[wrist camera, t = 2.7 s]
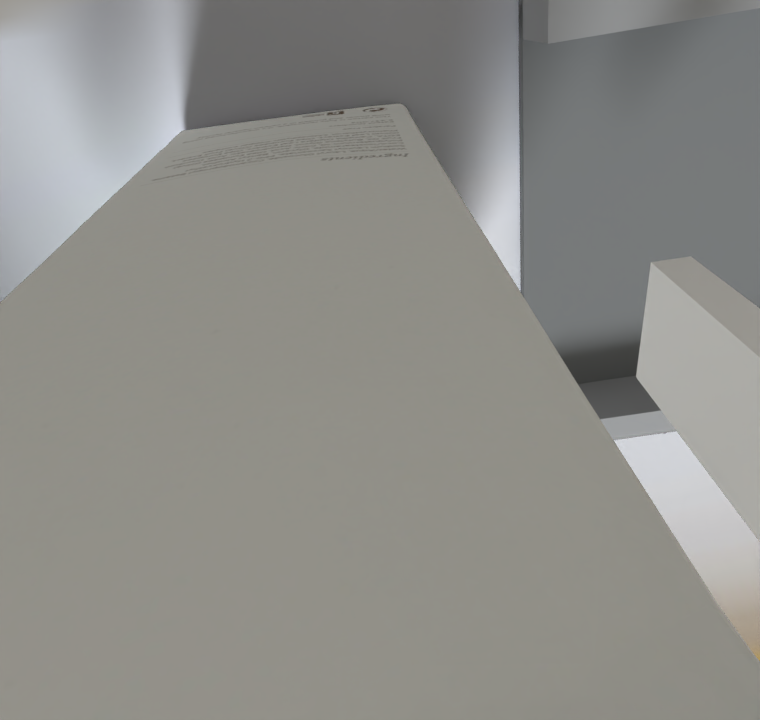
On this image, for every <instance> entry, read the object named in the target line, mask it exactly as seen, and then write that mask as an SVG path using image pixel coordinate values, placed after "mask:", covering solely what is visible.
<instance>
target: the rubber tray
mask: <svg viewBox="0 0 760 720" xmlns="http://www.w3.org/2000/svg"><path fill="white" fill-rule="evenodd" d="M519 114H520V247H521V294H522V296H523V297H524V299H525V300H526V302H527V304H528V305H529V307H530V308H531V310H532V312H533V313H534V315H535V316H536V318H537V320H538V321H539V323H540V324H541V326H542V328H543V329H544V331H545V332H546V334H547V336H548V337H549V339H550V340H551V342H552V344H553V345H554V347H555V348H556V350H557V352H558V353H559V355H560V356H561V358H562V360H563V361H564V363H565V364H566V366H567V368H568V369H569V371H570V372H571V374H572V376H573V377H574V379H575V381H576V382H577V384H578V385H579V387H580V389H581V390H582V392H583V393H584V395H585V397H586V398H587V400H588V401H589V403H590V404H591V406H592V408H593V409H594V411H595V412H596V414H597V415H598V417H599V419H600V420H601V422H602V423H603V425H604V426H605V428H606V430H607V431H608V433H609V434H610V436H611V437H612V439H613V440H618V439H625V438H632V437H639V436H646V435H653V434H660V433H667V432H674V431H676V430H675V428H674V427H673V426H672V424H671V423H670V422H669V420H668V419H667V418H666V416H665V415H664V414H663V412H662V411H661V410H660V408H659V407H658V406H657V404H656V403H655V402H654V400H653V399H652V398H651V396H650V395H649V394H648V392H647V391H646V390H645V388H644V387H643V386H642V384H641V383H640V382H639V380H638V379H637V378H636V372H637V365H638V357H639V349H640V342H641V334H642V327H643V319H644V311H645V304H646V296H647V288H648V281H649V273H650V265H651V262H656V261H663V260H669V259H676V258H683V257H690V256H691V257H692V258H694V259H695V260H696V261H698V262H699V263H700V264H702V265H703V266H704V267H706V268H707V269H708V270H709V271H711V272H712V273H713V274H715V275H716V276H717V277H719V278H720V279H721V280H723V281H724V282H725V283H727V284H728V285H729V286H731V287H732V288H733V289H735V290H736V291H737V292H739V293H740V294H741V295H743V296H744V297H745V298H747V299H748V300H749V301H751V302H752V303H753V304H755V305H756V306H757V307H759V308H760V0H519Z"/></svg>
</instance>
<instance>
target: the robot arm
mask: <svg viewBox="0 0 760 720" xmlns="http://www.w3.org/2000/svg"><path fill="white" fill-rule="evenodd" d="M636 378H637V379H638V380H639V382H640V383H641V384H642V386H643V387H644V388H645V390H646V391H647V392H648V394H649V395H650V396H651V398H652V399H653V400H654V402H655V403H656V404H657V406H658V407H659V408H660V410H661V411H662V412H663V414H664V415H665V416H666V418H667V419H668V420H669V422H670V423H671V424H672V426H673V427H674V428H675V430H676V431H677V432H678V434H679V435H680V436H681V438H682V439H683V440H684V442H685V443H686V444H687V446H688V447H689V448H690V450H691V451H692V452H693V454H694V455H695V456H696V458H697V459H698V460H699V462H700V463H701V464H702V466H703V467H704V468H705V470H706V471H707V472H708V474H709V475H710V476H711V478H712V479H713V480H714V482H715V483H716V484H717V486H718V487H719V488H720V490H721V491H722V492H723V494H724V495H725V496H726V498H727V499H728V500H729V502H730V503H731V504H732V506H733V507H734V508H735V510H736V511H737V512H738V514H739V515H740V516H741V518H742V519H743V520H744V522H745V523H746V524H747V526H748V527H749V528H750V530H751V531H752V532H753V534H754V535H755V536H756V538H757V539H758V540H759V542H760V308H759V307H757V306H756V305H755V304H753V303H752V302H751V301H749V300H748V299H747V298H745V297H744V296H743V295H741V294H740V293H739V292H737V291H736V290H735V289H733V288H732V287H731V286H729V285H728V284H727V283H725V282H724V281H723V280H721V279H720V278H719V277H717V276H716V275H715V274H713V273H712V272H711V271H709V270H708V269H707V268H706V267H704V266H703V265H702V264H700V263H699V262H698V261H696V260H695V259H694V258H692V257H691V256H690V257H683V258H676V259H669V260H663V261H656V262H651V265H650V273H649V281H648V288H647V296H646V304H645V311H644V319H643V327H642V334H641V342H640V349H639V357H638V365H637V372H636Z"/></svg>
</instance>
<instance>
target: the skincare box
mask: <svg viewBox="0 0 760 720" xmlns="http://www.w3.org/2000/svg"><path fill="white" fill-rule="evenodd" d="M0 720H760V661H759V660H758V659H757V658H756V656H755V655H754V654H753V652H752V651H751V650H750V648H749V647H748V645H747V644H746V643H745V641H744V640H743V638H742V637H741V636H740V634H739V633H738V631H737V630H736V629H735V627H734V626H733V624H732V623H731V622H730V620H729V619H728V617H727V616H726V615H725V613H724V612H723V611H722V609H721V608H720V606H719V605H718V604H717V602H716V601H715V599H714V597H713V596H712V594H711V593H710V591H709V590H708V588H707V586H706V585H705V583H704V582H703V580H702V579H701V577H700V575H699V574H698V572H697V571H696V569H695V568H694V566H693V564H692V563H691V561H690V560H689V558H688V557H687V555H686V554H685V552H684V550H683V549H682V547H681V546H680V544H679V543H678V541H677V539H676V538H675V536H674V535H673V533H672V532H671V530H670V528H669V527H668V525H667V524H666V522H665V521H664V519H663V517H662V516H661V514H660V513H659V511H658V510H657V508H656V506H655V505H654V503H653V502H652V500H651V499H650V497H649V495H648V494H647V492H646V491H645V489H644V488H643V486H642V485H641V483H640V481H639V480H638V478H637V477H636V475H635V474H634V472H633V470H632V469H631V467H630V466H629V464H628V463H627V461H626V459H625V458H624V456H623V455H622V453H621V452H620V450H619V448H618V447H617V445H616V444H615V442H614V441H613V439H612V437H611V436H610V434H609V433H608V431H607V430H606V428H605V426H604V425H603V423H602V422H601V420H600V419H599V417H598V415H597V414H596V412H595V411H594V409H593V408H592V406H591V404H590V403H589V401H588V400H587V398H586V397H585V395H584V393H583V392H582V390H581V389H580V387H579V385H578V384H577V382H576V381H575V379H574V377H573V376H572V374H571V372H570V371H569V369H568V368H567V366H566V364H565V363H564V361H563V360H562V358H561V356H560V355H559V353H558V352H557V350H556V348H555V347H554V345H553V344H552V342H551V340H550V339H549V337H548V336H547V334H546V332H545V331H544V329H543V328H542V326H541V324H540V323H539V321H538V320H537V318H536V316H535V315H534V313H533V312H532V310H531V308H530V307H529V305H528V304H527V302H526V300H525V299H524V297H523V296H522V294H521V292H520V291H519V289H518V288H517V286H516V284H515V283H514V281H513V279H512V278H511V276H510V275H509V273H508V271H507V270H506V268H505V267H504V265H503V263H502V262H501V260H500V259H499V257H498V255H497V254H496V252H495V251H494V249H493V247H492V246H491V244H490V243H489V241H488V239H487V238H486V236H485V235H484V233H483V232H482V230H481V229H480V227H479V225H478V224H477V222H476V221H475V219H474V218H473V216H472V215H471V213H470V211H469V210H468V208H467V207H466V205H465V203H464V202H463V200H462V199H461V197H460V195H459V194H458V192H457V190H456V189H455V187H454V186H453V184H452V182H451V181H450V179H449V178H448V176H447V174H446V173H445V171H444V169H443V168H442V166H441V165H440V163H439V161H438V160H437V158H436V156H435V155H434V153H433V152H432V150H431V148H430V147H429V145H428V143H427V142H426V140H425V139H424V137H423V135H422V134H421V132H420V130H419V129H418V127H417V125H416V124H415V122H414V121H413V119H412V117H411V115H410V113H409V111H408V109H407V107H406V106H404V105H403V104H388V105H377V106H368V107H359V108H351V109H342V110H333V111H325V112H317V113H310V114H302V115H295V116H287V117H280V118H272V119H264V120H256V121H248V122H241V123H234V124H227V125H220V126H212V127H205V128H198V129H191V130H184V131H181V132H180V133H179V134H178V135H177V136H175V137H174V138H173V140H172V141H170V143H169V144H168V145H167V146H166V147H165V148H163V149H162V150H161V151H160V152H159V153H158V154H157V155H156V156H154V157H153V158H152V159H151V160H150V161H149V162H148V163H147V164H146V165H145V166H144V167H143V168H142V169H141V170H140V171H139V172H138V173H137V174H135V175H134V176H133V177H132V178H131V179H130V180H129V182H127V183H126V184H125V185H124V186H123V187H122V188H121V189H120V190H119V191H118V192H117V193H115V194H114V195H113V196H112V197H111V198H110V199H109V200H108V201H107V202H106V203H105V204H104V205H103V206H102V207H101V208H100V209H98V210H97V211H96V212H95V213H94V214H93V215H92V216H91V217H90V218H89V219H88V220H87V221H86V222H84V223H83V224H82V225H81V226H80V227H79V229H78V230H77V231H76V232H75V233H74V234H72V235H71V236H70V237H69V238H68V239H67V240H66V241H65V242H64V243H63V244H62V245H61V246H60V247H59V248H58V249H57V250H56V251H55V252H54V253H52V254H51V255H50V256H49V257H48V258H47V259H46V260H45V261H44V262H43V263H42V264H41V265H40V266H39V267H38V268H37V269H36V270H35V271H33V272H32V273H31V274H30V275H29V276H28V277H27V278H26V279H25V280H24V281H23V282H22V283H21V284H19V285H18V286H17V287H16V288H15V289H14V290H13V291H12V292H11V293H10V294H9V295H8V296H7V297H6V298H5V299H4V300H2V301H1V302H0Z"/></svg>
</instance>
